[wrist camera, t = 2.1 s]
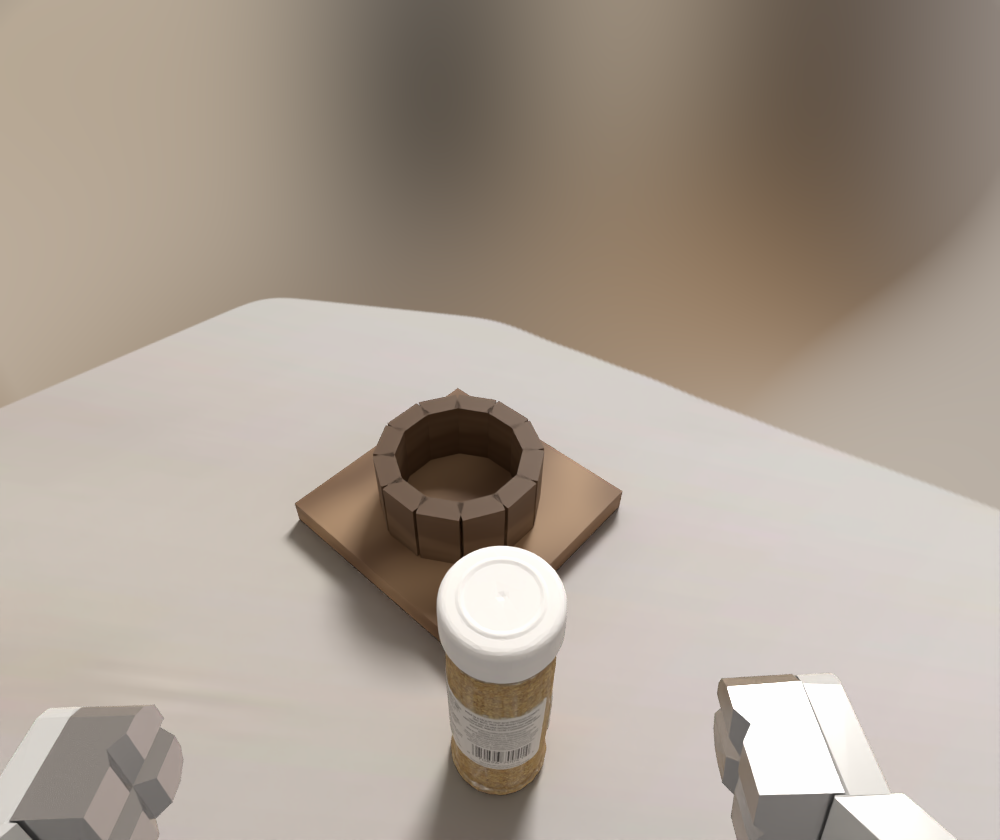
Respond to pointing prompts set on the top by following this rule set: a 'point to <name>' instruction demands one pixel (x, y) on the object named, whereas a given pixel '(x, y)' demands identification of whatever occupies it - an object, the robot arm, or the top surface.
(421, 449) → the walnut collar block
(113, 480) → the top surface
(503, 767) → the sprinkles bottle
